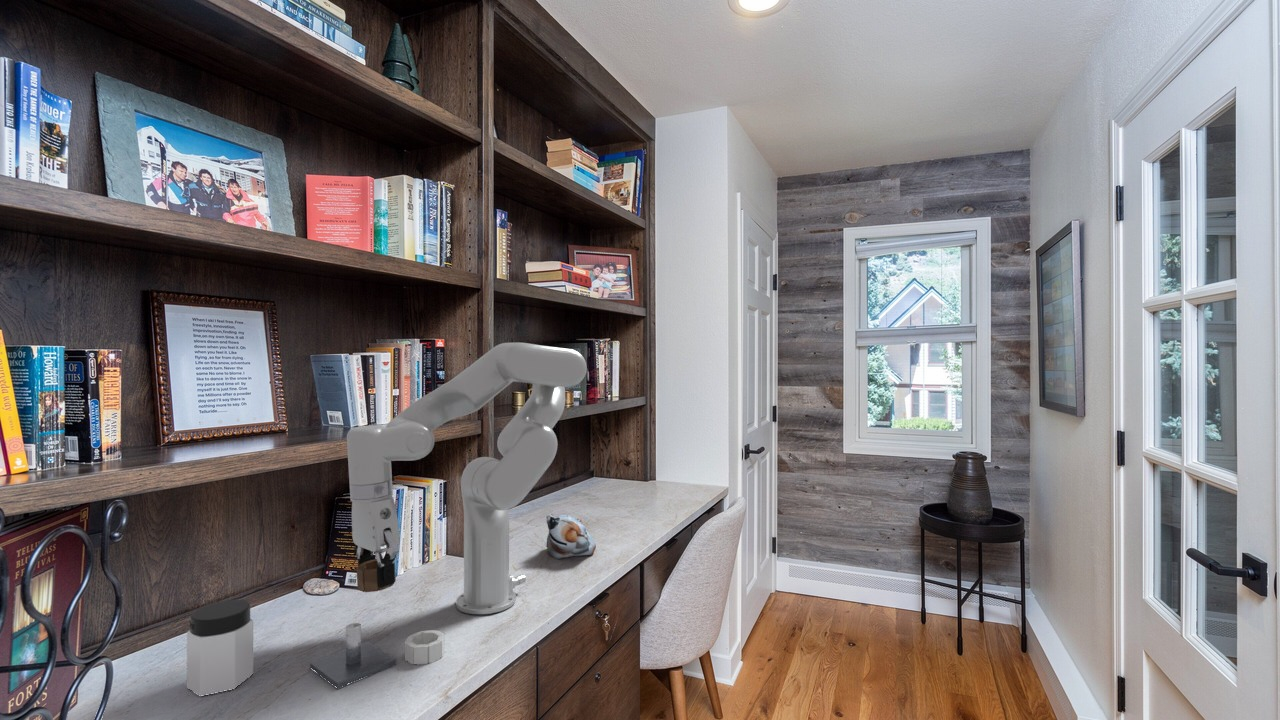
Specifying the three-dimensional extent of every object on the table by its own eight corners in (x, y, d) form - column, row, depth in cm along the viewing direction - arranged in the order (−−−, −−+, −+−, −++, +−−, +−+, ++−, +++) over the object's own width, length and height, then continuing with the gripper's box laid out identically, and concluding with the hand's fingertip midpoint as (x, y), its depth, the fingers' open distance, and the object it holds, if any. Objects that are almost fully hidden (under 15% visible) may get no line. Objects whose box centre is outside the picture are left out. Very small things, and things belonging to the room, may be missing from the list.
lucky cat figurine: (605, 551, 165) (604, 513, 158) (576, 579, 156) (573, 541, 149) (566, 527, 172) (563, 490, 166) (535, 552, 164) (531, 515, 157)
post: (367, 646, 110) (367, 608, 110) (395, 664, 104) (396, 624, 104) (310, 668, 102) (310, 628, 102) (337, 689, 96) (337, 646, 96)
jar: (215, 667, 103) (215, 598, 102) (262, 668, 102) (262, 598, 102) (174, 697, 94) (174, 621, 94) (226, 698, 94) (226, 621, 93)
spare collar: (430, 643, 112) (430, 627, 112) (451, 653, 108) (451, 637, 108) (398, 656, 107) (399, 639, 107) (418, 668, 103) (418, 650, 103)
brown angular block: (384, 575, 121) (383, 556, 121) (401, 582, 117) (399, 562, 117) (352, 586, 116) (351, 566, 116) (369, 594, 112) (367, 573, 112)
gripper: (413, 491, 113) (419, 584, 114) (368, 480, 124) (373, 565, 125) (375, 501, 107) (381, 599, 108) (331, 488, 118) (336, 577, 119)
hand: (376, 580), depth 116 cm, fingers closed on brown angular block, 6 cm apart
